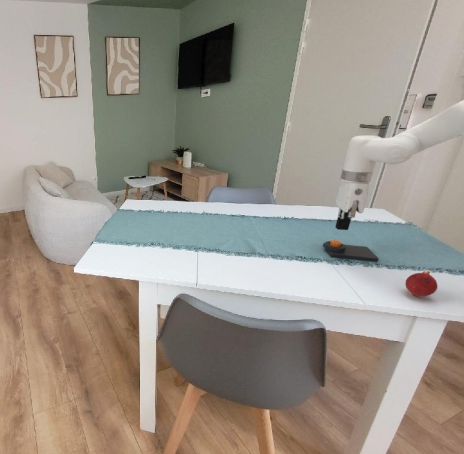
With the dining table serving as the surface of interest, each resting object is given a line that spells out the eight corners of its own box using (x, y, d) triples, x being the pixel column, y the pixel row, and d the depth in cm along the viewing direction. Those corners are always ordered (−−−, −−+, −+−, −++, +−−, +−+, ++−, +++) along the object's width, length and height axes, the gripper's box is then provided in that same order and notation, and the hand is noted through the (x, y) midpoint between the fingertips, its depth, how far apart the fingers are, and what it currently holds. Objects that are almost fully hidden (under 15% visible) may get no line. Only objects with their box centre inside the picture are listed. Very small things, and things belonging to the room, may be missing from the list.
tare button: (338, 244, 103) (339, 240, 103) (341, 248, 101) (342, 244, 100) (328, 243, 104) (329, 239, 104) (331, 247, 102) (332, 243, 101)
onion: (431, 305, 76) (444, 279, 73) (401, 297, 79) (412, 272, 76) (430, 295, 80) (442, 270, 76) (401, 287, 83) (411, 263, 80)
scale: (365, 250, 104) (368, 242, 102) (377, 262, 96) (380, 254, 95) (319, 245, 108) (321, 238, 107) (327, 257, 101) (329, 249, 99)
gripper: (382, 182, 85) (364, 238, 92) (360, 171, 98) (346, 221, 105) (350, 181, 87) (335, 236, 94) (333, 171, 100) (321, 220, 107)
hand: (341, 228), depth 100 cm, fingers closed
